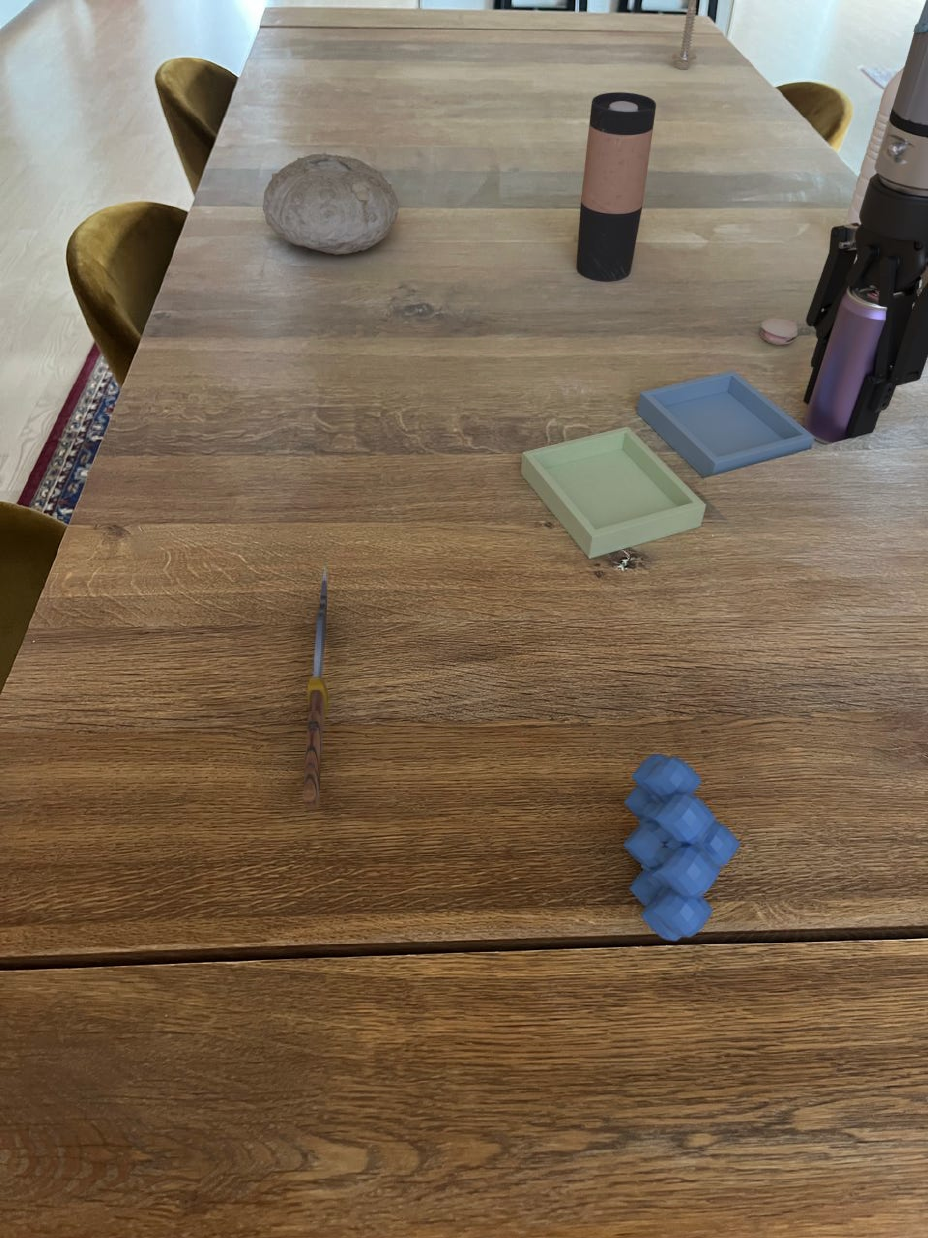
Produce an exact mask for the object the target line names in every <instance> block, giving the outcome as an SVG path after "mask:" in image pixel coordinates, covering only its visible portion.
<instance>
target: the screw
mask: <svg viewBox="0 0 928 1238" xmlns="http://www.w3.org/2000/svg"><path fill="white" fill-rule="evenodd" d="M687 7H688V8H687V10H686V11H687V12H686V13H685V14H686V16H685V20H684V22H685V23H684V26H683V28H684V30H683V34H682V35H683V37H682V41H681V42H682V44H681V47H680V49H681V50H679V51H675V52H674V53H672V54H671V58H672V59H673V60H675V68H677V69H679V70H688V69H689V68H690V66H691V63H692V61H695V60H697V54H696V53H695V52H692V51H691V50H690V49H691V45H692V38H693V31H694V28H695V25H694V24H695V20H696V18H695V17H696V14H697V11H696V10H697V8H696V7H697V0H689V2H688V6H687Z"/></svg>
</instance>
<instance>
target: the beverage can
mask: <svg viewBox="0 0 928 1238" xmlns="http://www.w3.org/2000/svg"><path fill="white" fill-rule="evenodd" d="M901 293H903V292H900V293H895V294H894V295H896V294H901ZM878 298H879V291H878V290H877V288H876V287H875V286H874V285H871V286H870V287H867V288H862V289H858V288H855V289H854V290H853V289H852V287H851V286H850V285H849V286H848V288H847V292H846V293H845V294H844V296H843V297H842V300H841V303H840V306H839V309H838V313H837V316H836V319H835V322H834V325H833V329H832V332H831V335H830V338H829V341H828V345H827V348H826V351H825V354H824V357H823V361H822V364H821V367H820V370H819V373H818V377H817V380H816V383H815V386H814V389H813V392H812V396H811V399H810V402H809V404H808V405H807V409H806V412H805V415H804V418H803V425H804V428H805V429H806V430H807V431H808V432H809V433H811V434H812V435H813V436H814V440H815V441H816V442H819V443H820V444H821V443H822V444H824V445H831V444H834V443H839V442H842V441H847V440H849V439H851V438H849V437H848V436H847V435H846V433H847V430H848V427H849V425H850V422H851V419H852V416H853V413H854V411H855V408H856V405H857V402H858V399H859V396H860V394H861V391H862V388H863V385H864V382H865V380H866V377H867V376H870V375H874V374H875V369H876V359H877V350H878V340H879V337H880V334H881V332H882V329H883V326H884V323H885V320H886V310H887V308H886V307H884V306H879V304H878Z"/></svg>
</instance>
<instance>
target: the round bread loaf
mask: <svg viewBox="0 0 928 1238" xmlns="http://www.w3.org/2000/svg"><path fill="white" fill-rule="evenodd" d="M263 193H264V194H263V204H262V211H263V213H264V214H263V215H264V218H265V222H266V224H267V225H268V226H269V227H270V228H271V230H272V231H273V232H274V233H275V234H276V235H277V236H279V237H281V238H282V239H284V241H287V242H288V243H291V244H292V245H295V246H299V247H305V248H308V249H311V250H314V251H319V252H324V253H326V254H333V255H336V256H337V255H349V254H351V253H358V252H359V251H366V250H367V249H371V247H373V246H375V245H376V244H377V243H379V242H380V241H382V240H384V239H385V237H386V236H388V234H389V233H390V231H391V229H392V228H393V227H394V225H395V224H396V221H397V218H398V215H399V201H398V197H397V195H396V193H395V191H394V189H393V187H392V184H391V183H389V182H388V180H387V179H385V178H384V176H383V172H382V171H380V170H379V171H378V170H377V169H375V168H373V167H371V166H370V165H368V163H365V162H364V161H362V160H360V159H357V158H353V157H350V156H349V155H348V156H342V155H338V154H337V155H334V154H333V155H332V154H328V153H326V152H323V153H322V154H321V153H314V154H310V155H305V156H304V157H297V159H296V160H293V161H292V162H289V163H288V164H287V165H285V166H283V167H282V168H281V169H280V170H279V171H278V172H277V173H272V174H271V179H270V181H269V182H268V184H267V186H266V187H265V190H264V192H263Z"/></svg>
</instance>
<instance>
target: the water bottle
mask: <svg viewBox="0 0 928 1238" xmlns="http://www.w3.org/2000/svg"><path fill="white" fill-rule="evenodd" d="M903 70H904V66H903V67H902V68H901V69H900V70H898V72H897V73H896V74H895V75H894V76H893V77H892V78H891V79H890V80H889V81H888V83H887V84H886V86H885V88H884V90H883V93H882V95H881V97H880V98H881V99H880V103H879V107H878V110H877V113H876V118H875V120H874V124H873V127H872V131H871V134H870V139H869V140H868V144H867V147H866V151H865V153H864V155H863V156H864V157H863V159H862V163H861V166H860V172H859V174H858V176H857V180H856V182H855V189H854V191H853V193H852V197H851V198H852V200H851V201H850V203H849V206H848V210H847V213H846V218H845V221H844V222H843V225H846V224H851V223H859V225H860V224H861V222H860V219H859V213H860V209H861V206H862V203H863V200H864V196H865V193H866V190H867V187H868V183H869V180H870V178H871V177H872V176H874V175H875V174H876V173H877V172H876V170H875V168H874V166H875V163H876V159H877V156H878V153H879V149H880V146H881V143H882V139H883V136H884V133H885V130H886V126H887V123H888V120H889V117H890V113H891V110H892V108H893V107H892V106H893V104H894V101H895V97H896V94H897V90H898V87H899V84H900V80H901V77H902V73H903ZM856 260H857V256H856V259H855V261H856ZM854 263H855V262H854Z"/></svg>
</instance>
